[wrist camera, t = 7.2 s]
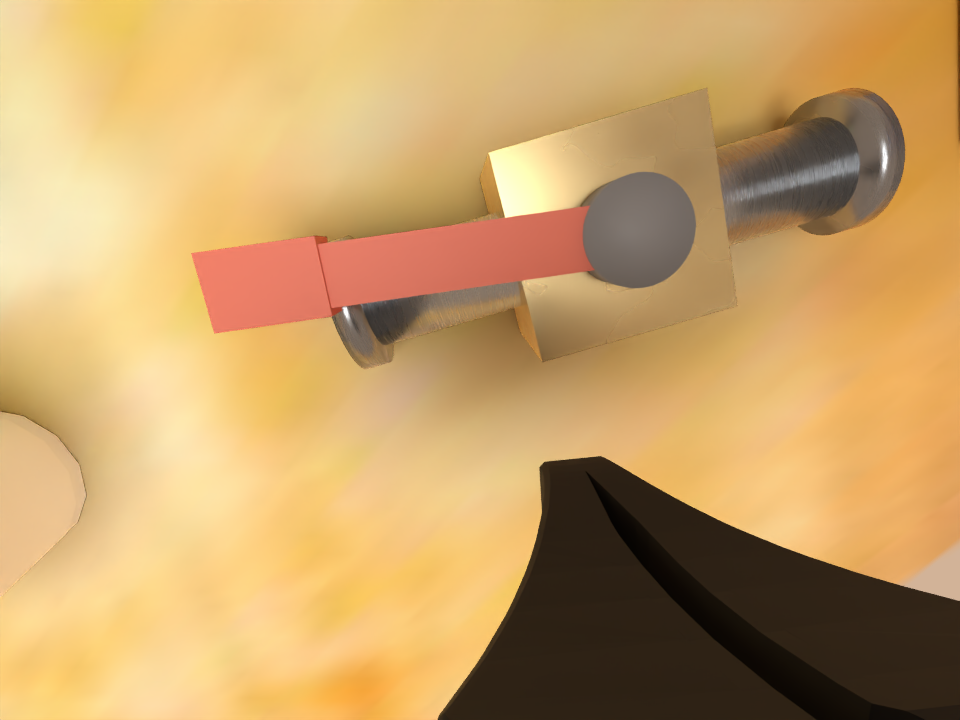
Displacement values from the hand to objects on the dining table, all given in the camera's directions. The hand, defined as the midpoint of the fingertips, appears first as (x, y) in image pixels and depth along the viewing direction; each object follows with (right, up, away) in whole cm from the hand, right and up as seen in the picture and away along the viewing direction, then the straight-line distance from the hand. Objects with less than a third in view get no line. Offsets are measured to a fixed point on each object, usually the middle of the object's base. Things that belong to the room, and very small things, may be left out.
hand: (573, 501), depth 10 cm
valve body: (+2, +8, +8) cm, 11 cm away
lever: (-3, +6, +3) cm, 7 cm away
